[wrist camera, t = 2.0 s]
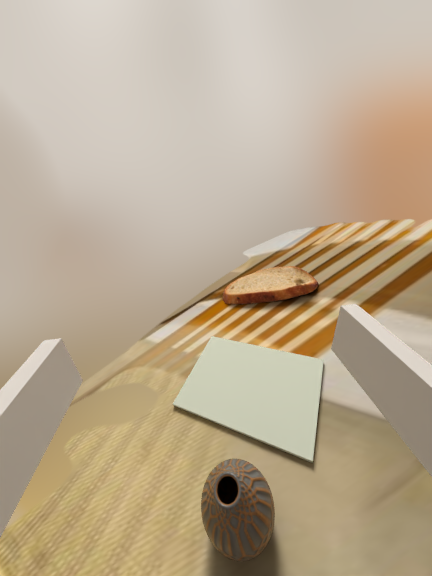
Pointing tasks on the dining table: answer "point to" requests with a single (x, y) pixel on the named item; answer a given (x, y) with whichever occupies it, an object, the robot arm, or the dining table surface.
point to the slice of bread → (270, 286)
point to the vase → (237, 509)
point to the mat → (257, 393)
